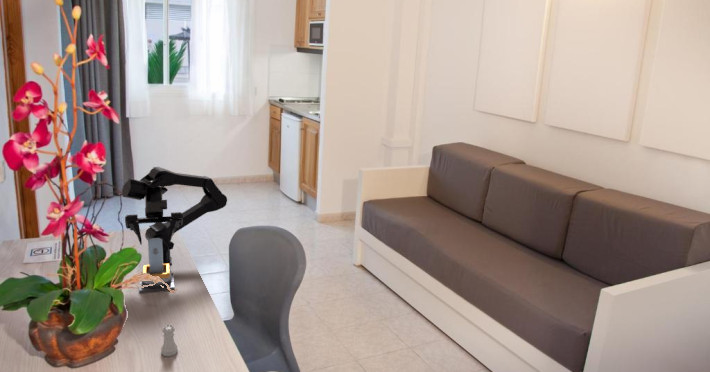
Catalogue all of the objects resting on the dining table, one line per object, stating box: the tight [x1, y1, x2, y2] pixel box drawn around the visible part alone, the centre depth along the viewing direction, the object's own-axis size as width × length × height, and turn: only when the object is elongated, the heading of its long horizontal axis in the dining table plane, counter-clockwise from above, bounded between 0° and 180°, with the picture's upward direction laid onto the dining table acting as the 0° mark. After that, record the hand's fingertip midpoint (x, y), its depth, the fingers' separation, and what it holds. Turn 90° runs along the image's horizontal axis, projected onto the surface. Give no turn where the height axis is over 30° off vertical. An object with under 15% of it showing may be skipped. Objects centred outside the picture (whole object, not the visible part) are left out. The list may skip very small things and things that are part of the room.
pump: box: [147, 238, 164, 274], centre depth 191 cm, size 6×4×12 cm
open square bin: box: [138, 263, 175, 294], centre depth 194 cm, size 11×11×6 cm
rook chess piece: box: [160, 324, 179, 358], centre depth 157 cm, size 4×4×8 cm
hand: (155, 243), depth 194 cm, fingers open, 9 cm apart
